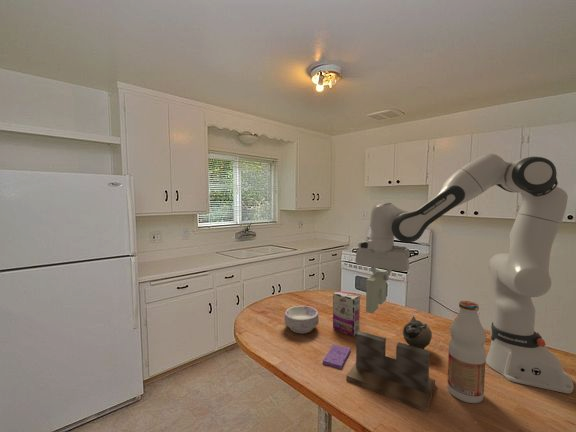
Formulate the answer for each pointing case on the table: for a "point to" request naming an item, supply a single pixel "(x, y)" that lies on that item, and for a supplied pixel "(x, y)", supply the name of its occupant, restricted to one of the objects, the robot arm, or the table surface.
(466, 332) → the fruit juice
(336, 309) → the candy bar box
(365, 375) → the slotted stand
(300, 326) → the white patterned bowl
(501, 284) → the robot arm
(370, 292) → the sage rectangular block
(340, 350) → the sponges
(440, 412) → the table surface
